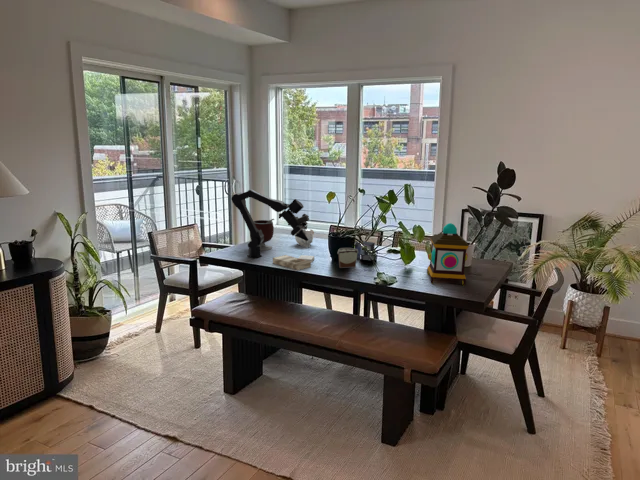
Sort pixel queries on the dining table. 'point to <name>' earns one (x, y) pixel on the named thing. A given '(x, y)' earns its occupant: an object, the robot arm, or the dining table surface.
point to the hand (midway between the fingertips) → (309, 239)
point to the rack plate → (291, 262)
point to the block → (307, 258)
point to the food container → (347, 257)
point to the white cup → (309, 235)
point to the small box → (358, 246)
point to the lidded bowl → (300, 240)
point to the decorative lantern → (447, 255)
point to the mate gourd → (265, 232)
